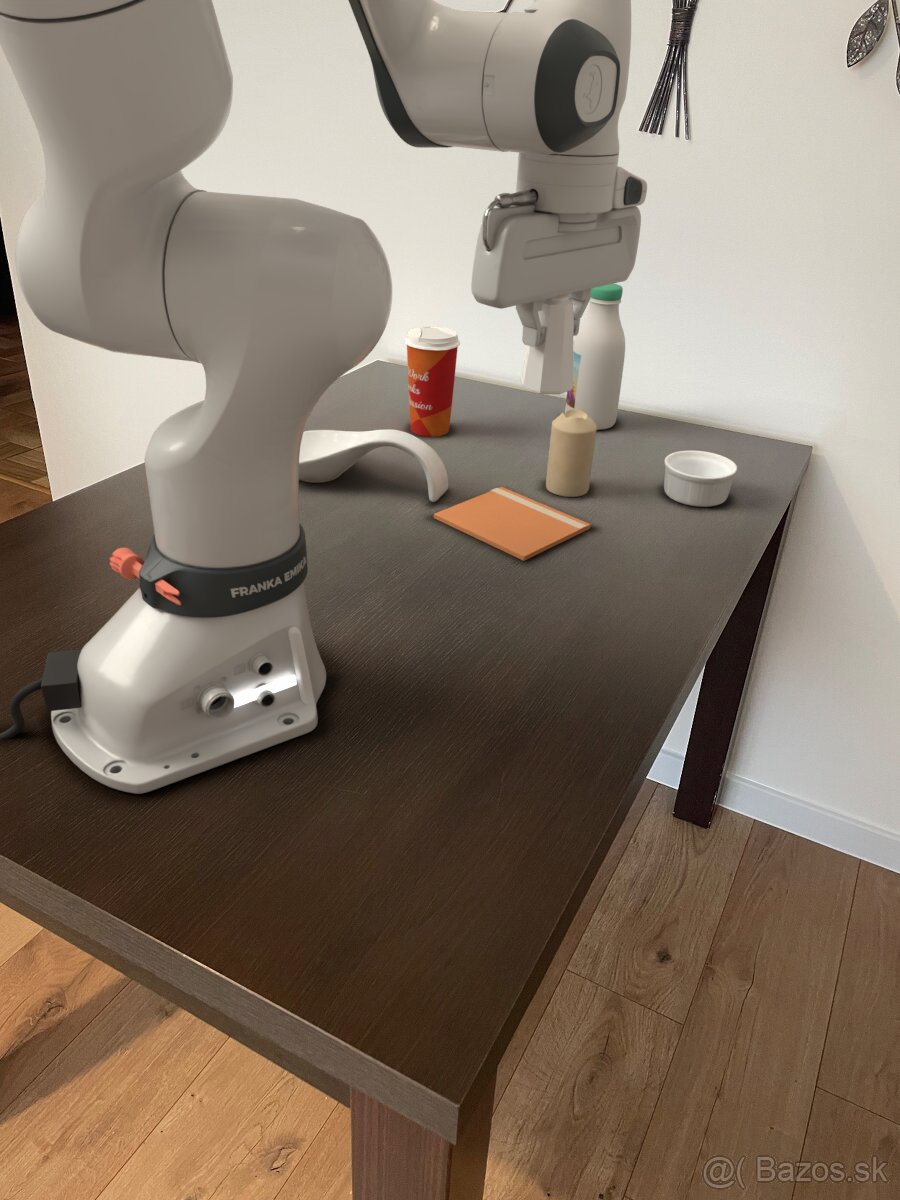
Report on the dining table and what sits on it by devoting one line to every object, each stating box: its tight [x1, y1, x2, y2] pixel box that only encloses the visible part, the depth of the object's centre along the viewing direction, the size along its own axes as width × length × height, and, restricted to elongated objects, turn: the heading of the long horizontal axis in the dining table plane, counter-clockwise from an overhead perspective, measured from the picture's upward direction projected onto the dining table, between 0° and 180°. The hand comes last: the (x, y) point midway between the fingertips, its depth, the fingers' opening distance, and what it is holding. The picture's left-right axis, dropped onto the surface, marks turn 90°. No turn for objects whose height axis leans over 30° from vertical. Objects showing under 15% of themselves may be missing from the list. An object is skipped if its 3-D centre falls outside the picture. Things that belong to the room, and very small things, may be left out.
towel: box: [433, 486, 592, 562], centre depth 108 cm, size 12×14×1 cm
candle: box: [545, 410, 598, 498], centre depth 115 cm, size 6×6×10 cm
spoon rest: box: [299, 429, 449, 503], centre depth 115 cm, size 24×12×7 cm, turn 70°
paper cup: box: [404, 325, 461, 437], centre depth 130 cm, size 8×8×14 cm
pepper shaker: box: [519, 294, 575, 395], centre depth 89 cm, size 5×5×11 cm
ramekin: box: [663, 450, 738, 508], centre depth 116 cm, size 9×9×4 cm
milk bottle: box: [564, 283, 626, 431], centre depth 134 cm, size 8×8×20 cm
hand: (550, 340), depth 90 cm, fingers closed on pepper shaker, 4 cm apart
